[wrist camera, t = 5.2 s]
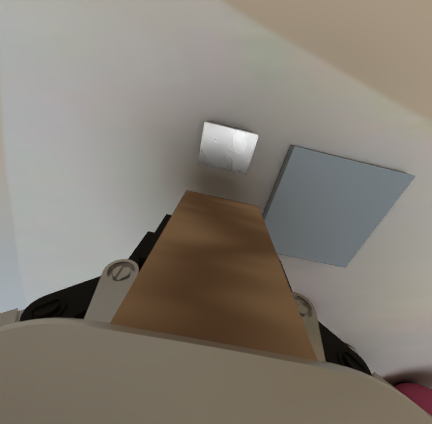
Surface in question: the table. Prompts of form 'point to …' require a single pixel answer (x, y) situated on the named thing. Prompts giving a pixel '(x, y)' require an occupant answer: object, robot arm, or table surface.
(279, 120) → the table surface
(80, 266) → the table surface
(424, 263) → the table surface
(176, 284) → the walnut peg
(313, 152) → the pad
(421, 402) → the pink dragon fruit
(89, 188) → the table surface
